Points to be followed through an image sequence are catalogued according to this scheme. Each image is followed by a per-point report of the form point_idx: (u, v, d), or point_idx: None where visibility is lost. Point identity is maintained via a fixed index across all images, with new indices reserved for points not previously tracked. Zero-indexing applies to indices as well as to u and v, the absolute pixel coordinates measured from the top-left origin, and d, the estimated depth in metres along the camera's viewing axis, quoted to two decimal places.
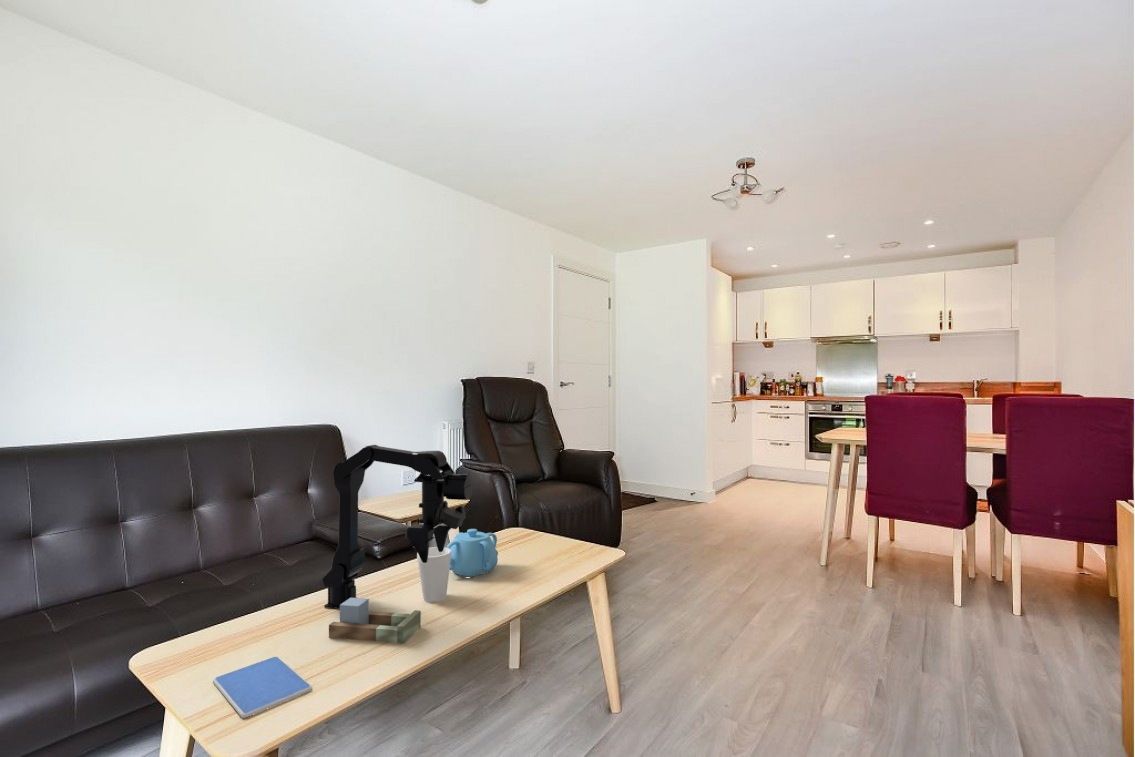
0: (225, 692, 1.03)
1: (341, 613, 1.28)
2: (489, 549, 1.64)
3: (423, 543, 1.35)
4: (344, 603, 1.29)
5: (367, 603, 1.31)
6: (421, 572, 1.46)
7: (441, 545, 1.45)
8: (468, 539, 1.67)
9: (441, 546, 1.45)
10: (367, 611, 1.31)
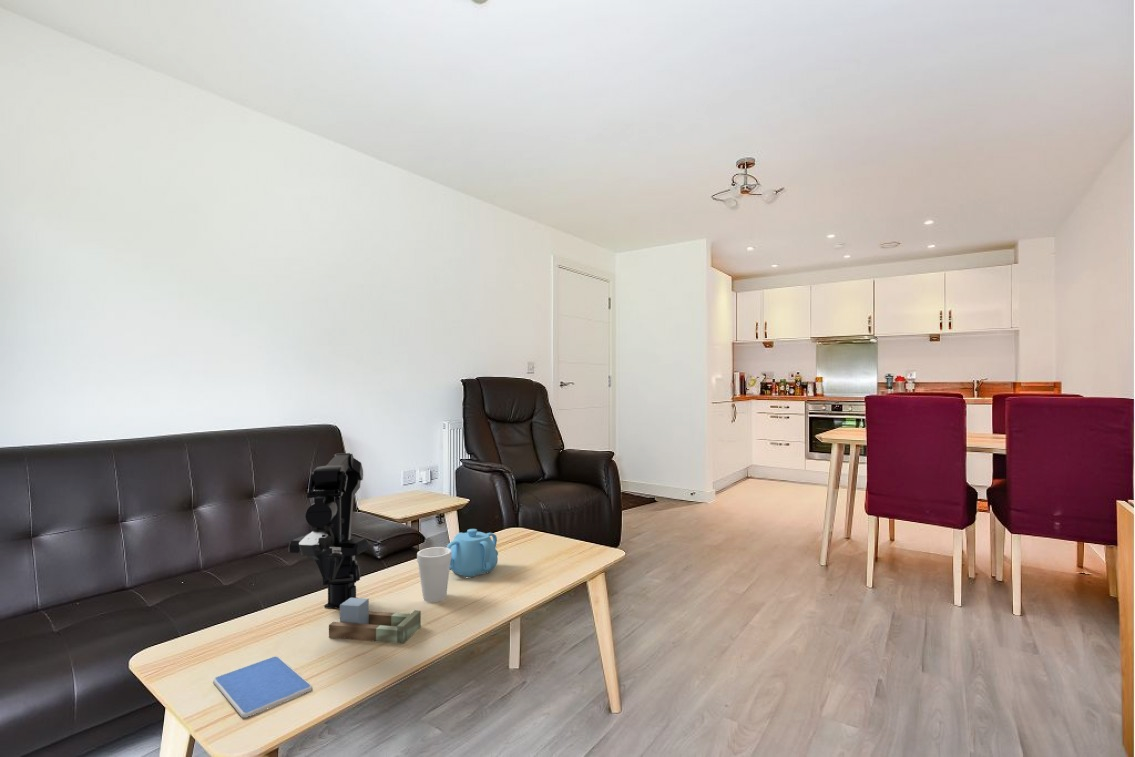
0: (225, 692, 1.03)
1: (341, 613, 1.28)
2: (489, 549, 1.64)
3: None
4: (344, 603, 1.29)
5: (367, 603, 1.31)
6: (421, 572, 1.46)
7: None
8: (468, 539, 1.67)
9: None
10: (367, 611, 1.31)
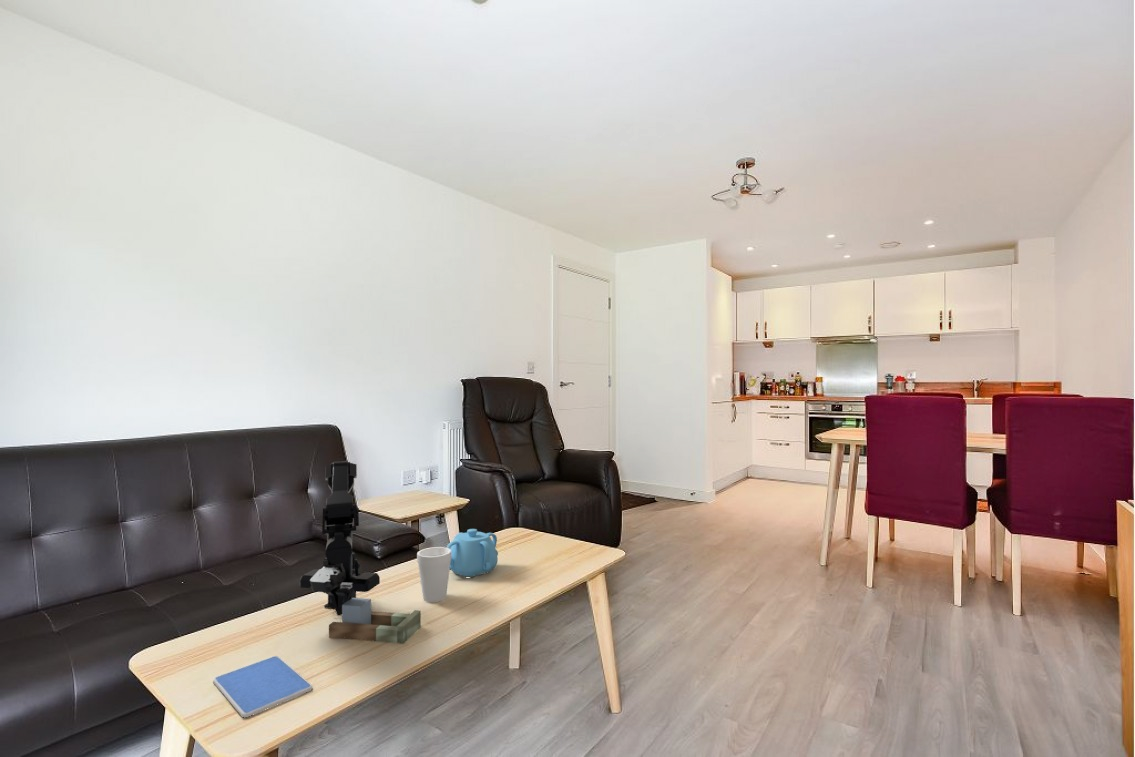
0: (225, 692, 1.03)
1: (343, 613, 1.28)
2: (489, 549, 1.64)
3: None
4: (346, 603, 1.29)
5: (369, 603, 1.31)
6: (421, 572, 1.46)
7: None
8: (468, 539, 1.67)
9: None
10: (369, 611, 1.31)
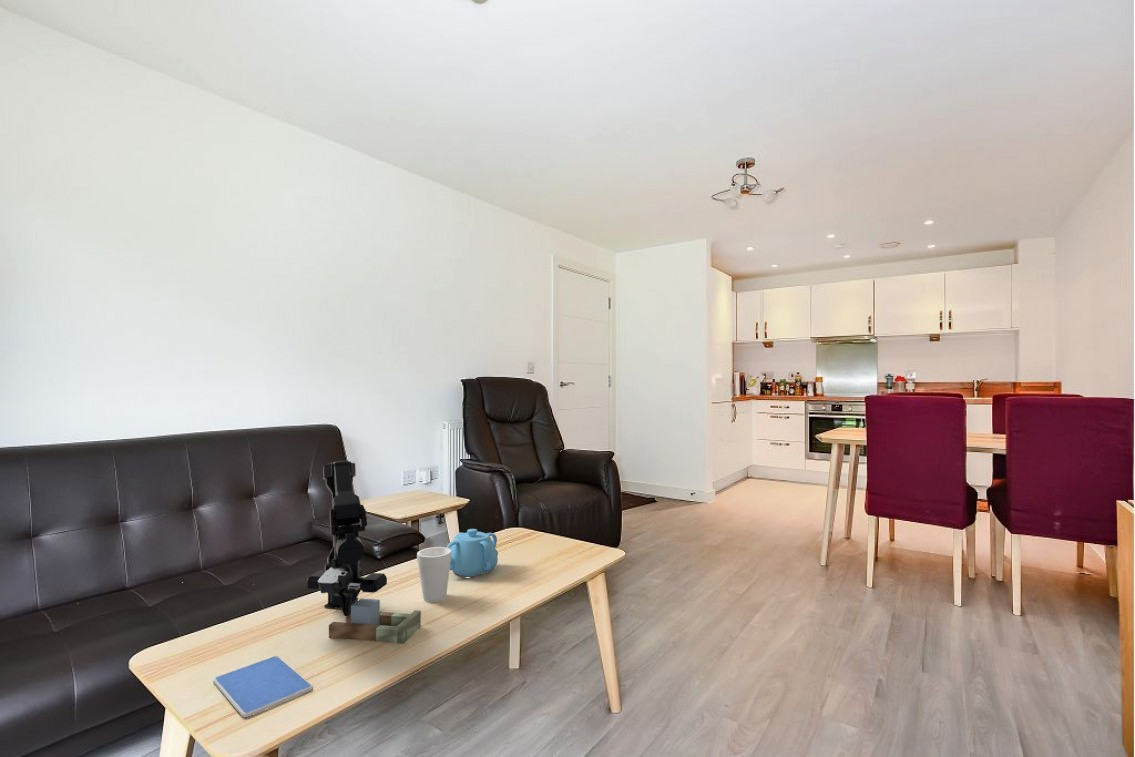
0: (226, 692, 1.03)
1: (352, 614, 1.27)
2: (489, 549, 1.64)
3: None
4: (355, 604, 1.28)
5: (378, 604, 1.30)
6: (421, 572, 1.46)
7: None
8: (468, 539, 1.67)
9: None
10: (378, 612, 1.30)
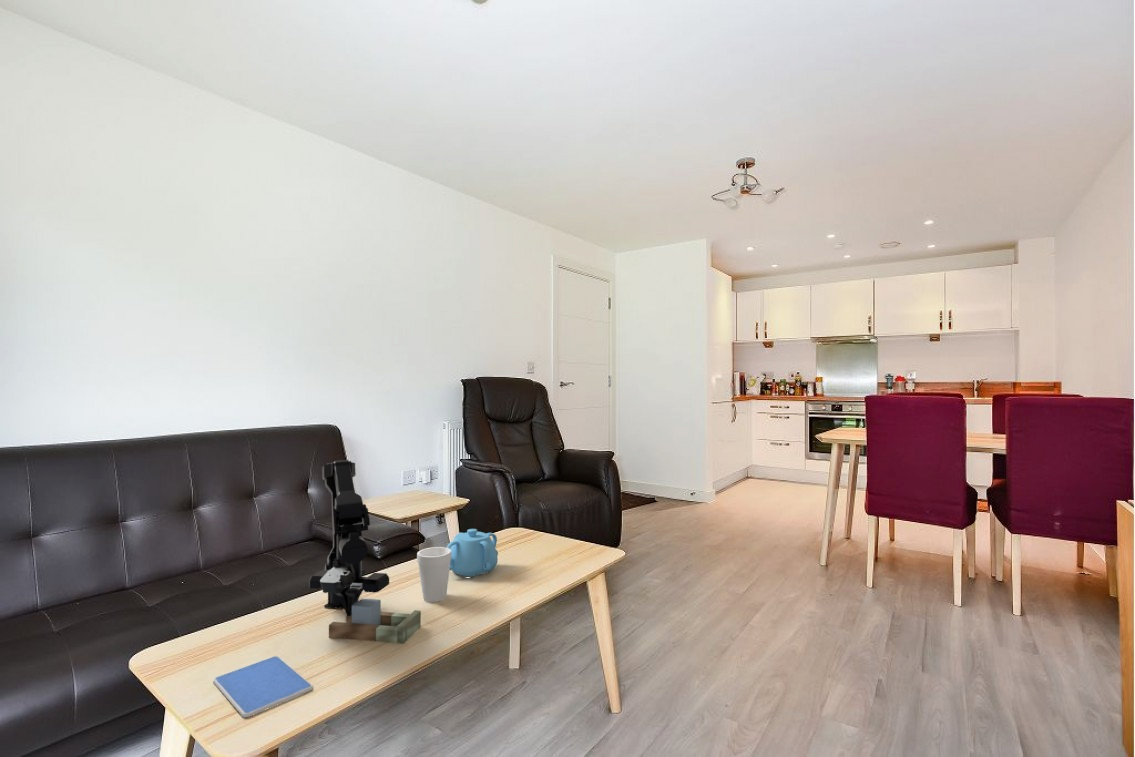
0: (226, 692, 1.03)
1: (353, 614, 1.27)
2: (489, 549, 1.64)
3: None
4: (356, 604, 1.28)
5: (379, 604, 1.30)
6: (421, 572, 1.46)
7: None
8: (468, 539, 1.67)
9: None
10: (379, 612, 1.30)
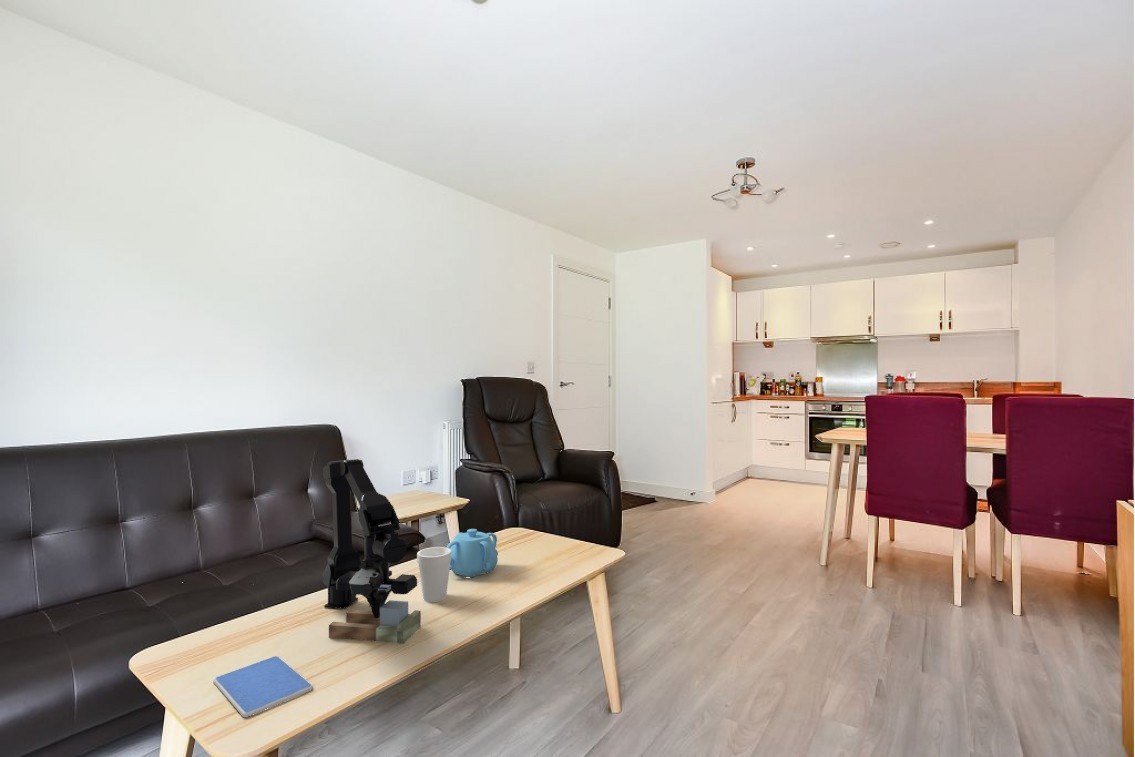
0: (226, 692, 1.03)
1: (381, 616, 1.26)
2: (489, 549, 1.64)
3: None
4: (384, 606, 1.27)
5: (407, 606, 1.29)
6: (421, 572, 1.46)
7: None
8: (468, 539, 1.67)
9: None
10: (407, 614, 1.29)
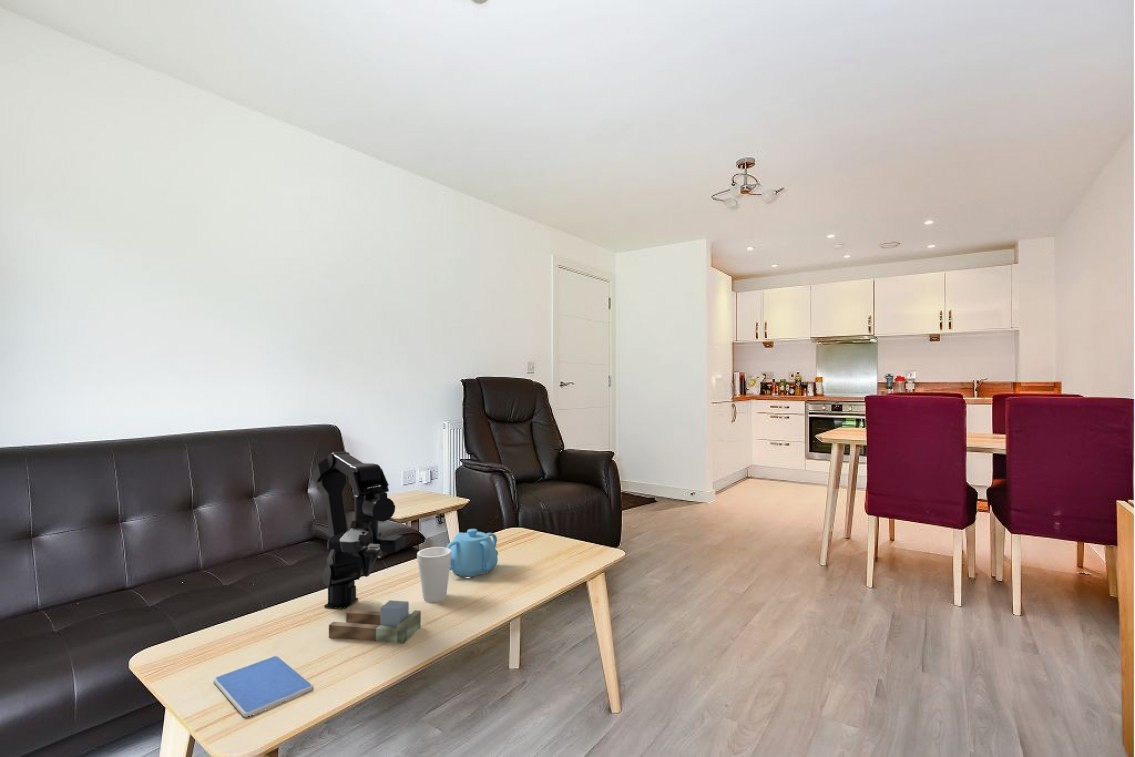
0: (226, 692, 1.03)
1: (382, 616, 1.26)
2: (489, 549, 1.64)
3: None
4: (384, 606, 1.27)
5: (407, 606, 1.29)
6: (421, 572, 1.46)
7: None
8: (468, 539, 1.67)
9: None
10: (407, 614, 1.29)
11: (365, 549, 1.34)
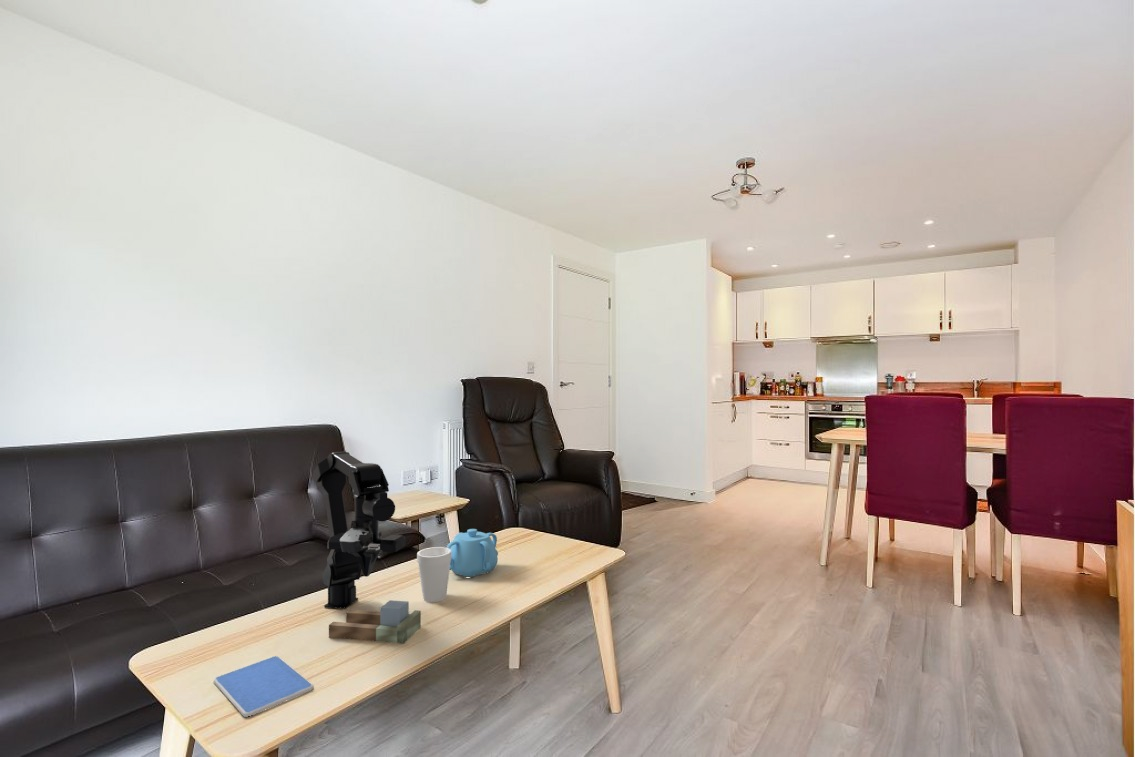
0: (226, 692, 1.03)
1: (382, 616, 1.26)
2: (489, 549, 1.64)
3: None
4: (384, 606, 1.27)
5: (407, 606, 1.29)
6: (421, 572, 1.46)
7: None
8: (468, 539, 1.67)
9: None
10: (407, 614, 1.29)
11: (365, 549, 1.34)
